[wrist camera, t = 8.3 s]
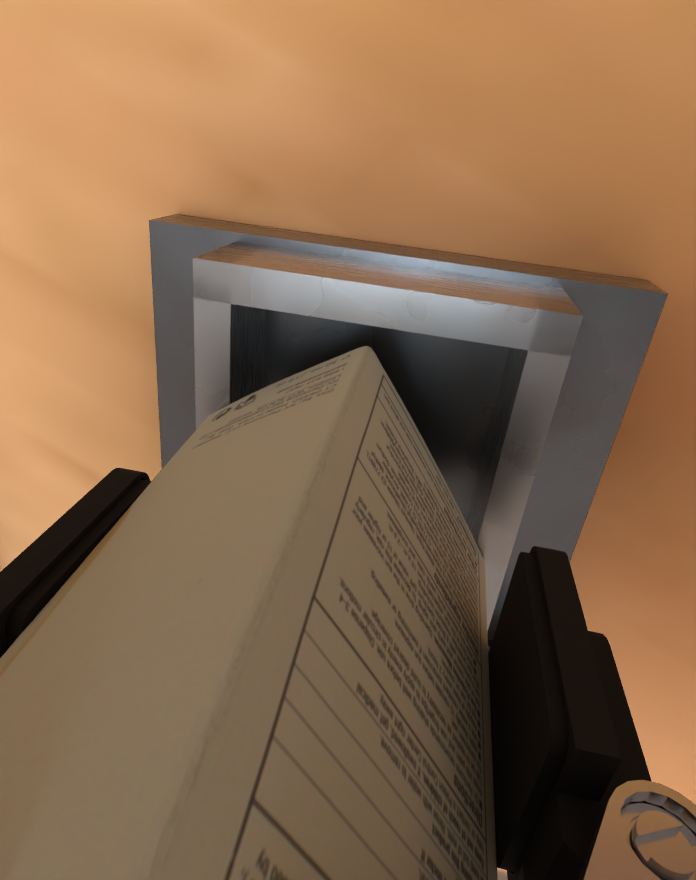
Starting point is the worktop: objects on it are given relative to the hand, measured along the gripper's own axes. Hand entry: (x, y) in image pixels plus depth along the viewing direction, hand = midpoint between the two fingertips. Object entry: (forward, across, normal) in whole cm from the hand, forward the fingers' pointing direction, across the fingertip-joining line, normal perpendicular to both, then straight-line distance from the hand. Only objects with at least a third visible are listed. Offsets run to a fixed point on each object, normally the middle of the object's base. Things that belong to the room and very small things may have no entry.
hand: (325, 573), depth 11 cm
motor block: (+7, 0, +1) cm, 7 cm away
